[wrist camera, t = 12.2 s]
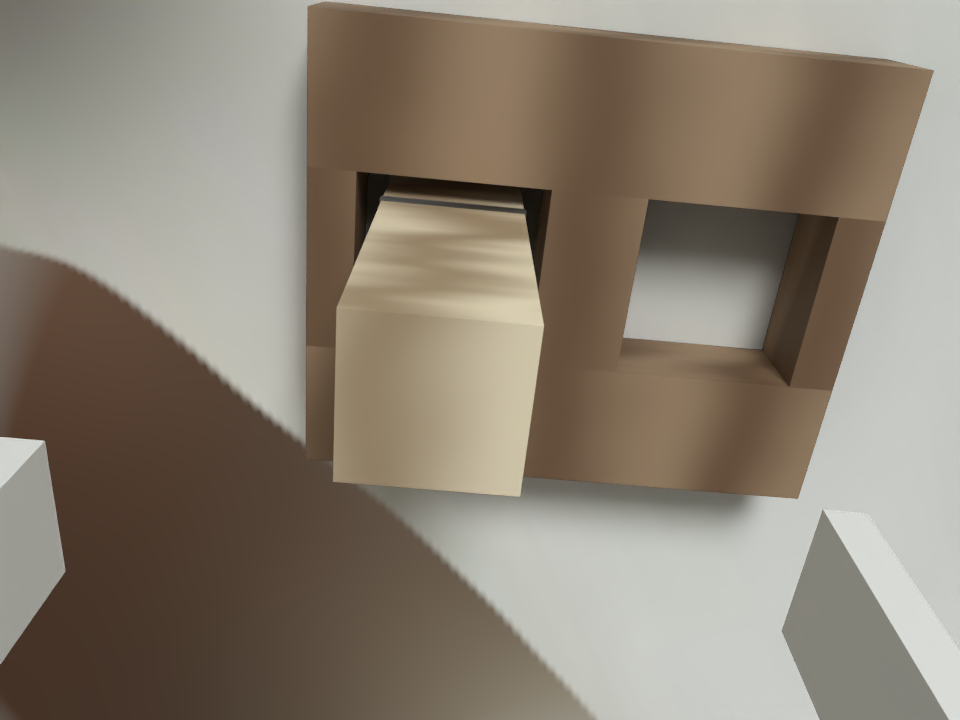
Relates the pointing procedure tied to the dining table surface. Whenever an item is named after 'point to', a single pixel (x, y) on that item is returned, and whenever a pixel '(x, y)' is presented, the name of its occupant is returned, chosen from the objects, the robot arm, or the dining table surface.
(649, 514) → the dining table surface
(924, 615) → the robot arm
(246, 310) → the dining table surface
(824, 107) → the walnut board
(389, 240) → the beech peg
